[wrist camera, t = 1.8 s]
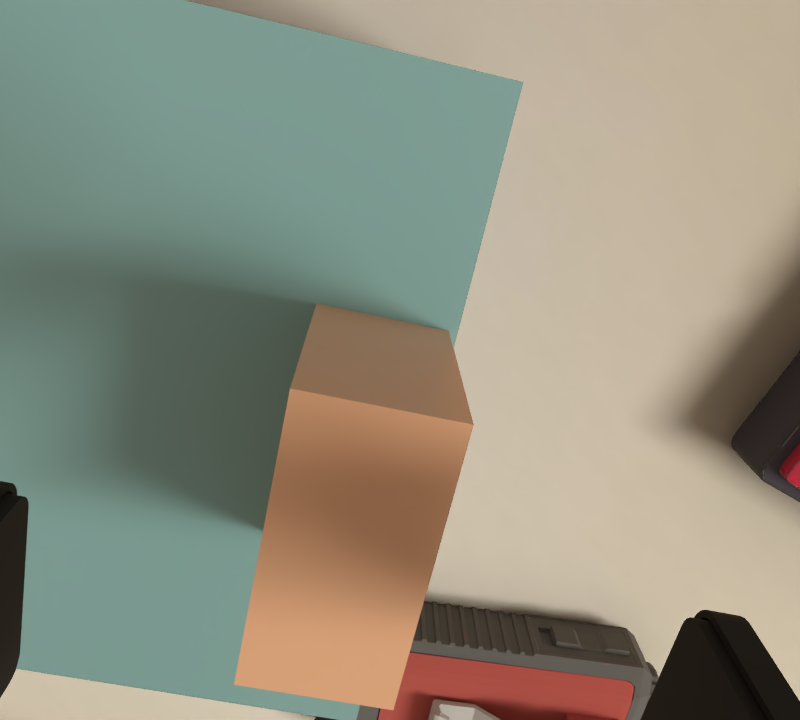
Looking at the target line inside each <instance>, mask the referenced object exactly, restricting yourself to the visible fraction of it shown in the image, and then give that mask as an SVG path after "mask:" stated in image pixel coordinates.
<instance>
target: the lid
mask: <svg viewBox="0 0 800 720" xmlns="http://www.w3.org/2000/svg"><path fill="white" fill-rule="evenodd" d="M522 85H523V82H521V81H516V80H512V79H508V78H504V77H500V76H496V75H492V74H488V73H483V72H479V71H475V70H471V69H467V68H463V67H459V66H455V65H451V64H446V63H442V62H438V61H434V60H430V59H426V58H422V57H418V56H413V55H409V54H405V53H401V52H397V51H393V50H389V49H385V48H381V47H376V46H372V45H368V44H364V43H360V42H356V41H352V40H348V39H343V38H339V37H335V36H331V35H327V34H323V33H319V32H315V31H311V30H306V29H302V28H298V27H294V26H290V25H286V24H282V23H278V22H273V21H269V20H265V19H261V18H257V17H253V16H249V15H245V14H241V13H236V12H232V11H228V10H224V9H220V8H216V7H212V6H208V5H203V4H199V3H195V2H191V1H187V0H0V481H3V482H9V483H13V484H14V485H15V486H16V489H17V495H18V496H24V497H26V498H27V499H28V503H29V510H28V527H27V544H26V561H25V578H24V595H23V612H22V629H21V646H20V656H19V660H18V664H17V667H16V669H22V670H28V671H35V672H41V673H47V674H53V675H60V676H66V677H72V678H79V679H85V680H91V681H97V682H104V683H110V684H116V685H123V686H129V687H135V688H141V689H148V690H154V691H160V692H167V693H173V694H179V695H185V696H192V697H198V698H204V699H211V700H217V701H223V702H229V703H236V704H242V705H248V706H255V707H261V708H267V709H273V710H280V711H286V712H292V713H299V714H305V715H311V716H317V717H324V718H330V719H336V720H356V719H357V715H358V711H359V707H360V705H363V706H369V707H376V708H382V709H388V710H394V706H395V702H396V699H397V695H398V692H399V688H400V685H401V681H402V678H403V674H404V670H405V667H406V663H407V660H408V656H409V653H410V649H411V645H412V642H413V638H414V635H415V631H416V628H417V624H418V621H419V617H420V613H421V610H422V606H423V603H424V599H425V596H426V592H427V589H428V585H429V581H430V578H431V574H432V571H433V567H434V564H435V560H436V557H437V553H438V549H439V546H440V542H441V539H442V535H443V532H444V528H445V524H446V521H447V517H448V514H449V510H450V507H451V503H452V500H453V496H454V492H455V489H456V485H457V482H458V478H459V475H460V471H461V468H462V464H463V460H464V457H465V453H466V450H467V446H468V443H469V439H470V435H471V432H472V428H473V421H472V417H471V413H470V410H469V406H468V402H467V398H466V394H465V391H464V387H463V383H462V379H461V375H460V372H459V368H458V364H457V360H456V356H455V353H454V349H453V348H454V345H455V341H456V337H457V333H458V329H459V325H460V322H461V318H462V314H463V310H464V306H465V303H466V299H467V295H468V291H469V287H470V283H471V280H472V276H473V272H474V268H475V264H476V261H477V257H478V253H479V249H480V245H481V241H482V238H483V234H484V230H485V226H486V222H487V218H488V215H489V211H490V207H491V203H492V199H493V196H494V192H495V188H496V184H497V180H498V176H499V173H500V169H501V165H502V161H503V157H504V154H505V150H506V146H507V142H508V138H509V134H510V131H511V127H512V123H513V119H514V115H515V112H516V108H517V104H518V100H519V96H520V92H521V89H522Z"/></svg>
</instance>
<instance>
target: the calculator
mask: <svg viewBox="0 0 800 720" xmlns="http://www.w3.org/2000/svg"><path fill="white" fill-rule="evenodd" d="M731 444H732V447H733V449H734V450H735V451H736V452H737V453H738V454H739V456H740V457H741V458H742V459H743V460H744V461H745V462H746V463H747V464H748V465H749V466H750V468H751V469H752V470H753V471H754V472H755V473H756V474H757V475H758V476H759V477H760V478H761V479H762V480H763V481H764V482H766V483H767V484H769V485H771V486H773V487H774V488H776V489H778V490H780V491H781V492H783V493H785V494H787V495H788V496H790V497H792V498H794V499H795V500H797V501H799V502H800V352H799V353H798V354H797V356H796V357H795V358H794V360H793V361H792V362H791V363H790V365H789V366H788V367H787V368H786V370H785V371H784V372H783V374H782V375H781V376H780V377H779V379H778V380H777V381H776V382H775V384H774V385H773V386H772V388H771V389H770V390H769V391H768V393H767V394H766V395H765V396H764V398H763V399H762V400H761V402H760V403H759V404H758V405H757V407H756V408H755V409H754V411H753V412H752V413H751V414H750V416H749V417H748V418H747V419H746V421H745V422H744V423H743V425H742V426H741V427H740V428H739V430H738V431H737V432H736V434H735V435H734V437H733V438H732V442H731Z"/></svg>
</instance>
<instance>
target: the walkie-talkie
mask: <svg viewBox="0 0 800 720" xmlns="http://www.w3.org/2000/svg"><path fill="white" fill-rule="evenodd" d="M658 679H659V677H658V675H657V672H656V670H655V669H654V667H653V666H652V665H651V664H650V663H649V662H646V661H645V659H644V657H643V654H642V652H641V650H640V648H639V646H638V643H637V641H636V639H635V637H634V635H633V634H632V633H631V632H630V631H628V630H627V629H626V628H620V627H613V626H605V625H598V624H591V623H584V622H576V621H569V620H562V619H555V618H548V617H540V616H533V615H526V614H524V615H523V616H518V615H516V614H515V613H511V614H504V613H503V612H502V611H498V612H490V611H489V609H485V610H484V611H482V610H477V609H476V608H475V607H472V608H471V609H468V608H463V606H461V605H459V606H458V607H453V606H450V604H445V605H439V604H437V602H432V603H423V606H422V610H421V613H420V617H419V621H418V624H417V628H416V631H415V635H414V638H413V642H412V645H411V649H410V653H409V656H408V660H407V663H406V667H405V670H404V674H403V678H402V681H401V685H400V688H399V692H398V695H397V699H396V702H395V706H394V710H388V709H382V708H376V707H369V706H363V705H360V707H359V711H358V715H357V719H356V720H640V719H641V717H642V715H643V713H644V710H645V708H646V706H647V704H648V701H649V699H650V697H651V694H652V692H653V690H654V688H655V685H656V683H657V681H658ZM315 720H336V719H330V718H324V717H317V716H316V718H315Z"/></svg>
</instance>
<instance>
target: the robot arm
mask: <svg viewBox="0 0 800 720" xmlns="http://www.w3.org/2000/svg"><path fill="white" fill-rule="evenodd" d="M28 510H29V503H28V499H27V498H26V497H24V496H18V495H17V489H16V486H15V485H14V484H13V483H9V482H3V481H0V697H1V696H2V694H3V692H4V691H5V689H6V688H7V686H8V684H9V683H10V681H11V679H12V677H13V675H14V672H15V670H16V667H17V664H18V660H19V656H20V646H21V629H22V612H23V595H24V578H25V561H26V544H27V527H28ZM640 720H800V701H799V700H798V698H797V697H796V695H795V693H794V692H793V690H792V689H791V687H790V686H789V684H788V683H787V681H786V679H785V678H784V676H783V675H782V673H781V672H780V670H779V669H778V667H777V665H776V664H775V662H774V661H773V659H772V658H771V656H770V655H769V653H768V651H767V650H766V648H765V647H764V645H763V644H762V642H761V641H760V639H759V637H758V636H757V634H756V633H755V631H754V630H753V628H752V627H751V625H750V623H749V622H748V621H747V620H746V619H745V618H743V617H741V616H737V615H731V614H726V613H720V612H715V611H709V610H702V611H700V612H699V613H697V614H696V616H695V618H687V619H686V620H685V621H684V623H683V624H682V626H681V629H680V631H679V633H678V635H677V638H676V640H675V642H674V645H673V647H672V649H671V651H670V654H669V656H668V658H667V660H666V663H665V665H664V667H663V669H662V672H661V674H660V676H659V679H658V681H657V683H656V685H655V688H654V690H653V692H652V694H651V697H650V699H649V701H648V704H647V706H646V708H645V710H644V713H643V715H642V717H641V719H640Z"/></svg>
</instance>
